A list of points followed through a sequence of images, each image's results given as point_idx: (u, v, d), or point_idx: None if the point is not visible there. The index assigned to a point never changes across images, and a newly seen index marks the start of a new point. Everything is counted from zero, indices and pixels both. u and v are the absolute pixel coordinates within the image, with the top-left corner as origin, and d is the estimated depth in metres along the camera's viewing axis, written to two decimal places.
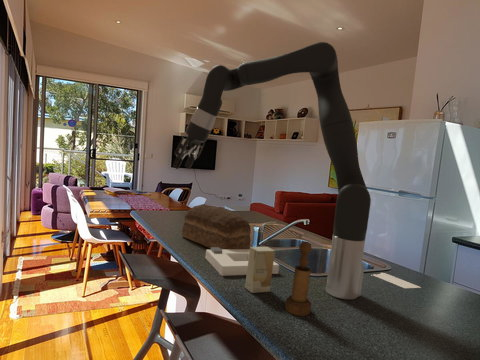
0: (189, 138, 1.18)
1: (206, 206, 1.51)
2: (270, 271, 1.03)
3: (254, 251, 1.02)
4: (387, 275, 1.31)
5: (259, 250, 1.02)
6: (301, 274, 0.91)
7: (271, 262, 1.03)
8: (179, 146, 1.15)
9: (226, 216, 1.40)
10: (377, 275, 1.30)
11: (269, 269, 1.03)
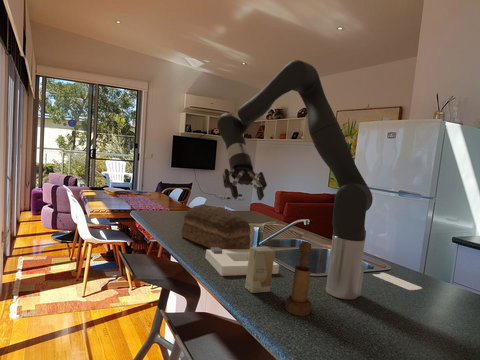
0: (232, 170, 1.19)
1: (206, 206, 1.50)
2: (270, 271, 1.03)
3: (254, 251, 1.02)
4: (387, 275, 1.31)
5: (259, 250, 1.02)
6: (301, 274, 0.91)
7: (271, 262, 1.03)
8: (224, 179, 1.16)
9: (225, 216, 1.39)
10: (377, 275, 1.30)
11: (269, 269, 1.03)
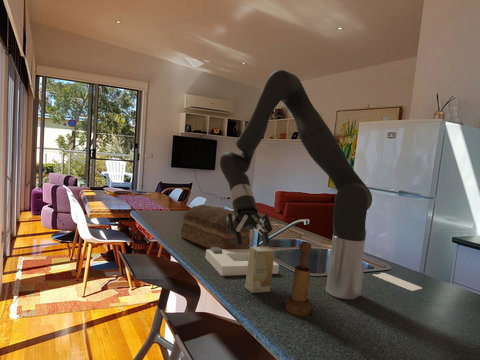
0: (235, 214, 1.14)
1: (206, 206, 1.50)
2: (270, 271, 1.03)
3: (254, 251, 1.02)
4: (387, 275, 1.31)
5: (259, 250, 1.02)
6: (301, 274, 0.91)
7: (271, 262, 1.03)
8: (227, 224, 1.11)
9: (225, 217, 1.39)
10: (377, 275, 1.30)
11: (269, 269, 1.03)
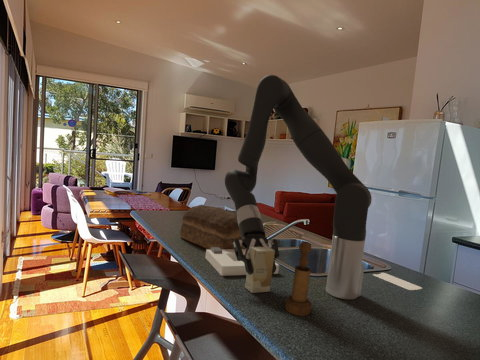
0: (242, 238, 1.08)
1: (205, 207, 1.49)
2: (270, 271, 1.03)
3: (254, 251, 1.02)
4: (387, 275, 1.31)
5: (259, 249, 1.02)
6: (301, 274, 0.91)
7: (271, 261, 1.03)
8: (235, 250, 1.05)
9: (224, 217, 1.38)
10: (377, 275, 1.30)
11: (269, 269, 1.03)
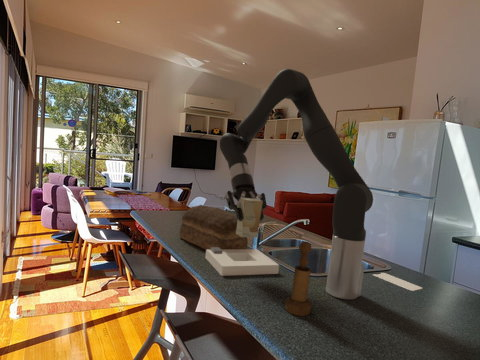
0: (234, 191, 1.22)
1: (204, 207, 1.48)
2: (258, 219, 1.17)
3: (244, 200, 1.15)
4: (387, 275, 1.31)
5: (248, 199, 1.15)
6: (301, 274, 0.91)
7: (259, 210, 1.17)
8: (227, 201, 1.19)
9: (222, 217, 1.37)
10: (377, 275, 1.30)
11: (257, 217, 1.17)
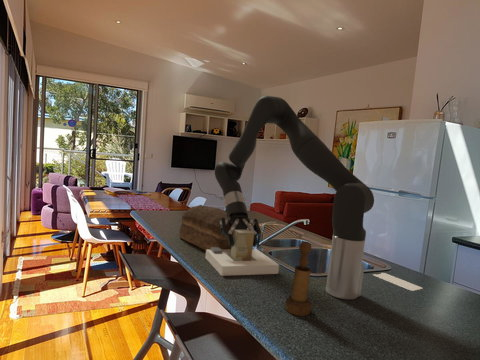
0: (228, 218, 1.28)
1: (203, 207, 1.48)
2: (250, 249, 1.24)
3: (237, 232, 1.22)
4: (387, 275, 1.31)
5: (241, 231, 1.23)
6: (301, 274, 0.91)
7: (251, 241, 1.24)
8: (221, 227, 1.25)
9: (220, 217, 1.36)
10: (377, 275, 1.30)
11: (249, 248, 1.24)
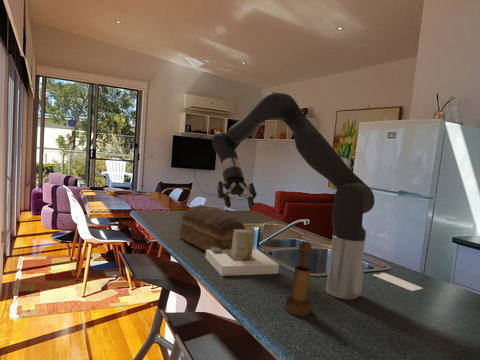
0: (225, 182, 1.34)
1: (203, 207, 1.48)
2: (250, 249, 1.24)
3: (237, 232, 1.22)
4: (388, 275, 1.31)
5: (241, 231, 1.23)
6: (301, 274, 0.91)
7: (251, 241, 1.24)
8: (218, 190, 1.31)
9: (219, 217, 1.36)
10: (377, 275, 1.30)
11: (249, 248, 1.24)
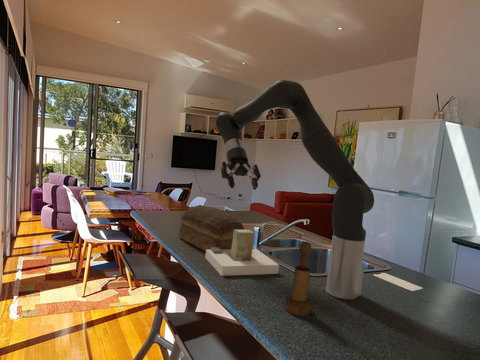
0: (229, 163, 1.31)
1: (202, 207, 1.48)
2: (250, 249, 1.24)
3: (237, 232, 1.22)
4: (388, 275, 1.31)
5: (241, 231, 1.23)
6: (301, 274, 0.91)
7: (251, 241, 1.24)
8: (221, 170, 1.29)
9: (218, 217, 1.36)
10: (378, 275, 1.30)
11: (249, 248, 1.24)
